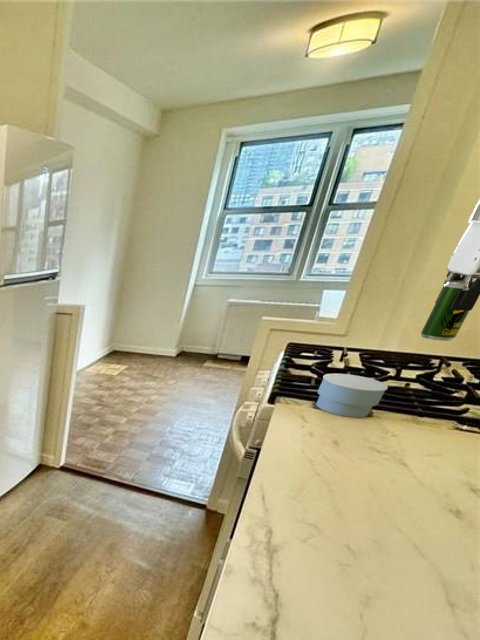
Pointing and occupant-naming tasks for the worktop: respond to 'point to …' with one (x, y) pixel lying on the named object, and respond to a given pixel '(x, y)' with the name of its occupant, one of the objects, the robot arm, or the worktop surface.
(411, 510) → the worktop surface
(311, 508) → the worktop surface
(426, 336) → the beer can
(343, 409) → the yogurt tub
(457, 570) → the worktop surface
